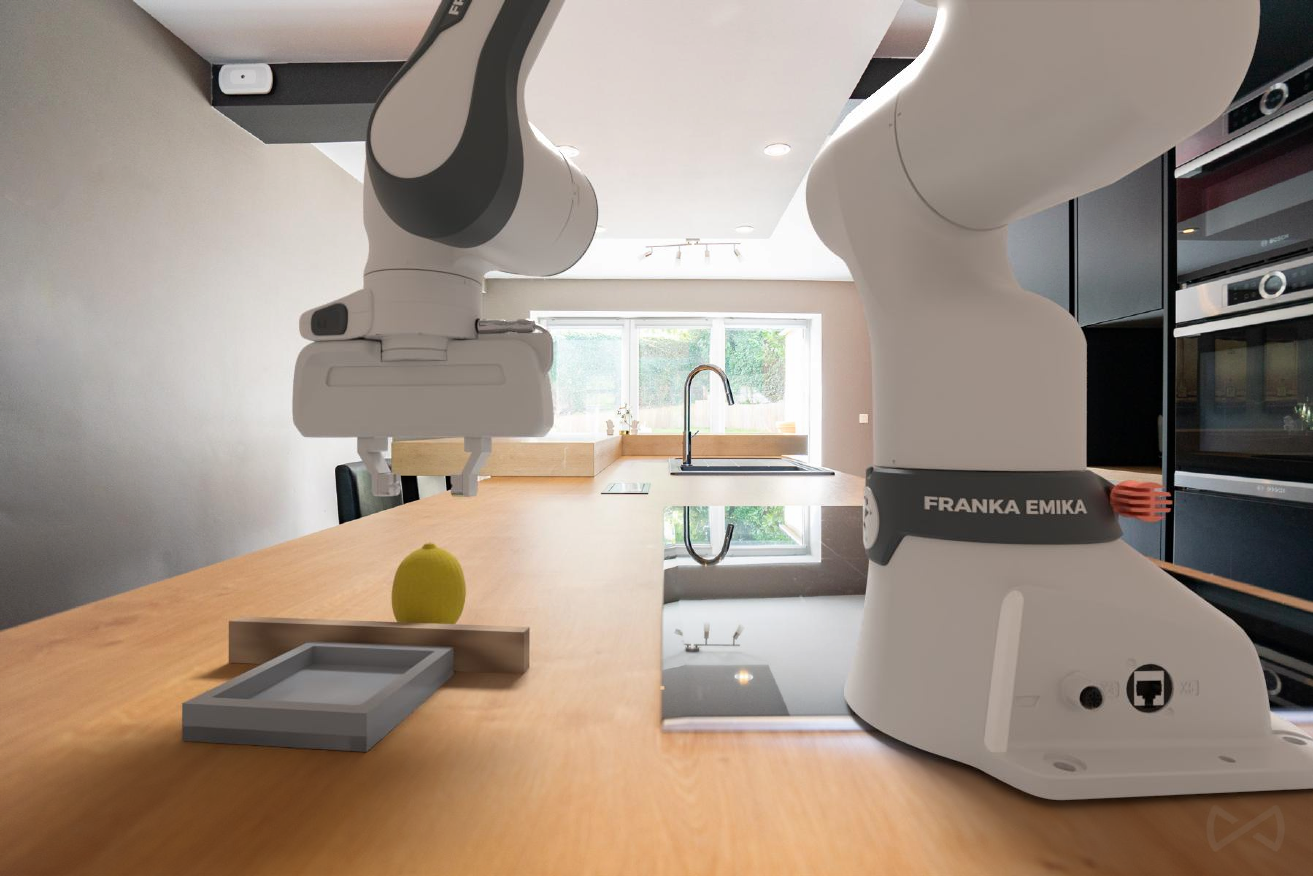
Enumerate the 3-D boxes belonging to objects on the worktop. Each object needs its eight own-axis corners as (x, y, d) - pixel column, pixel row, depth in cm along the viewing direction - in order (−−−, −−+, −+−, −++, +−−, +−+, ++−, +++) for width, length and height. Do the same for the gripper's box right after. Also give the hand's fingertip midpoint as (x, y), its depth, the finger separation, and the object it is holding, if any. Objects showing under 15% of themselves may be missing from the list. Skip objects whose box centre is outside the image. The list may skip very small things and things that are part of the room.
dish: (453, 676, 43) (453, 647, 43) (366, 751, 33) (366, 713, 33) (309, 669, 44) (309, 641, 44) (182, 740, 34) (182, 703, 34)
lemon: (442, 658, 47) (443, 549, 47) (376, 652, 48) (376, 547, 48) (478, 635, 52) (478, 538, 52) (417, 631, 53) (417, 536, 53)
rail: (529, 669, 45) (529, 627, 45) (524, 676, 43) (524, 632, 43) (241, 656, 47) (241, 616, 47) (228, 662, 46) (228, 621, 46)
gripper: (563, 325, 52) (563, 493, 52) (330, 330, 54) (330, 491, 54) (541, 309, 46) (541, 501, 46) (278, 316, 48) (278, 498, 48)
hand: (425, 496), depth 50 cm, fingers open, 5 cm apart
